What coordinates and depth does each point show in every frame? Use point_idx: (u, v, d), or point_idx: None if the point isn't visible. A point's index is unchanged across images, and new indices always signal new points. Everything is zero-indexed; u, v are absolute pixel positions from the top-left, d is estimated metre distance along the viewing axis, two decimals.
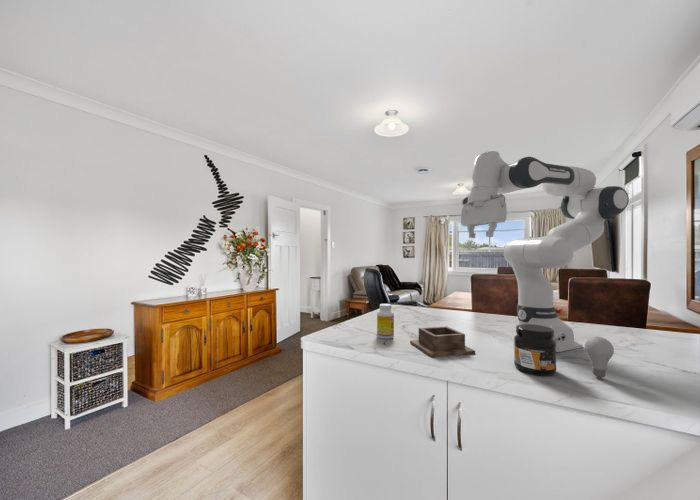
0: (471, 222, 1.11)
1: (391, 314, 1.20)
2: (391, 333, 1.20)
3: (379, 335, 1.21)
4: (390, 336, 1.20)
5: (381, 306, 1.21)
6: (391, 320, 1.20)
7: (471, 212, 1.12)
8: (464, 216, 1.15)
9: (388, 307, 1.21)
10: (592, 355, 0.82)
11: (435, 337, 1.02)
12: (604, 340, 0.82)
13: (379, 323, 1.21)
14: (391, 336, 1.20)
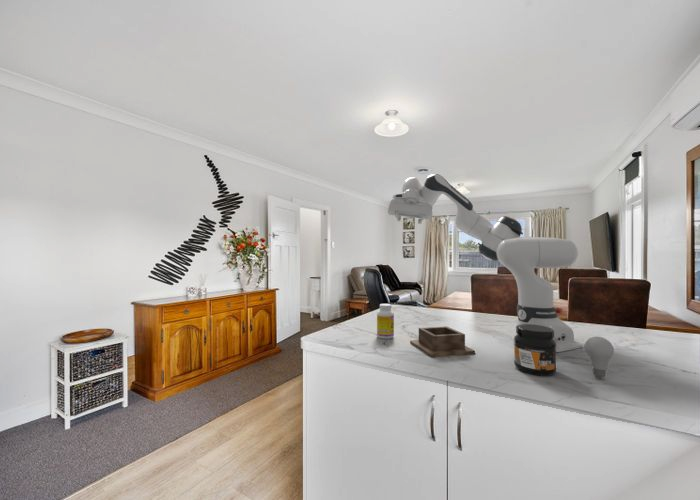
0: (403, 209, 1.42)
1: (391, 314, 1.20)
2: (391, 333, 1.20)
3: (379, 335, 1.21)
4: (390, 336, 1.20)
5: (381, 306, 1.21)
6: (391, 320, 1.20)
7: (401, 204, 1.45)
8: (393, 204, 1.45)
9: (388, 307, 1.21)
10: (592, 355, 0.82)
11: (435, 337, 1.02)
12: (604, 340, 0.82)
13: (379, 323, 1.21)
14: (391, 336, 1.20)
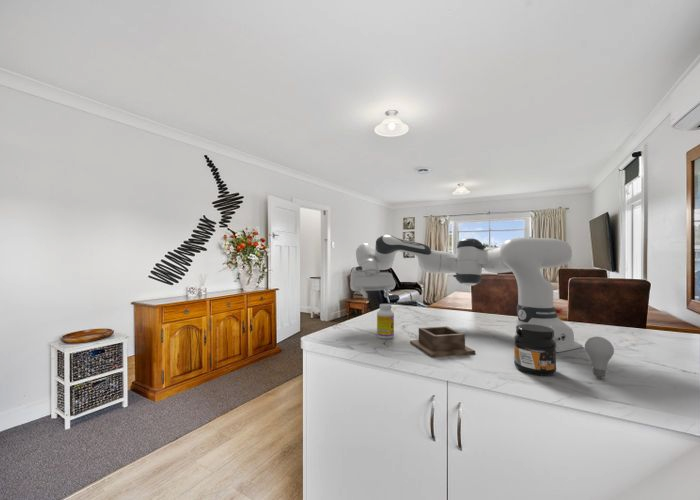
0: (367, 284, 1.34)
1: (391, 314, 1.20)
2: (391, 333, 1.20)
3: (379, 335, 1.21)
4: (390, 336, 1.20)
5: (381, 306, 1.21)
6: (391, 320, 1.20)
7: (363, 278, 1.37)
8: (356, 280, 1.35)
9: (388, 307, 1.21)
10: (592, 355, 0.82)
11: (435, 337, 1.02)
12: (604, 340, 0.82)
13: (379, 323, 1.21)
14: (391, 336, 1.20)
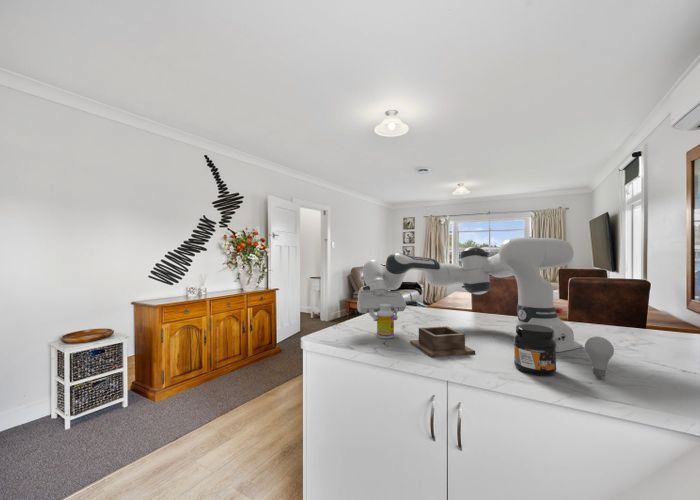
0: (376, 306, 1.24)
1: (391, 314, 1.20)
2: (391, 333, 1.20)
3: (379, 335, 1.21)
4: (390, 336, 1.20)
5: (381, 306, 1.21)
6: (391, 320, 1.20)
7: (371, 299, 1.26)
8: (364, 301, 1.25)
9: (388, 307, 1.21)
10: (592, 355, 0.82)
11: (435, 337, 1.02)
12: (604, 340, 0.82)
13: (379, 323, 1.21)
14: (391, 336, 1.20)
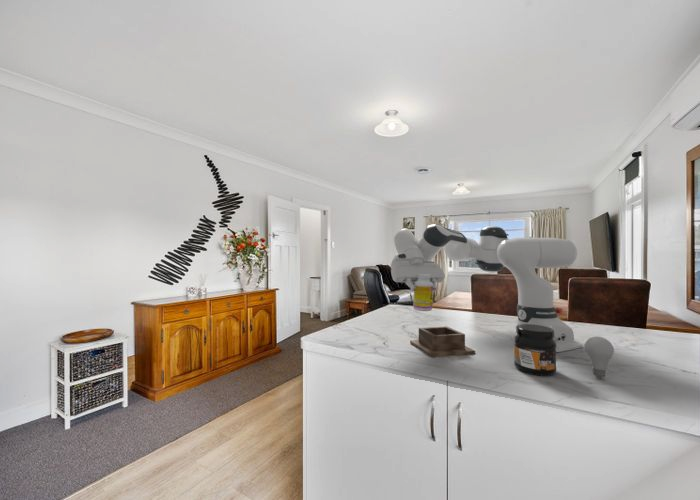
0: (413, 275, 1.13)
1: (431, 284, 1.10)
2: (430, 305, 1.09)
3: (417, 307, 1.10)
4: (429, 308, 1.09)
5: (420, 275, 1.10)
6: (431, 291, 1.09)
7: (408, 267, 1.15)
8: (400, 269, 1.13)
9: (428, 277, 1.10)
10: (592, 355, 0.82)
11: (435, 337, 1.02)
12: (604, 340, 0.82)
13: (417, 294, 1.10)
14: (430, 308, 1.09)
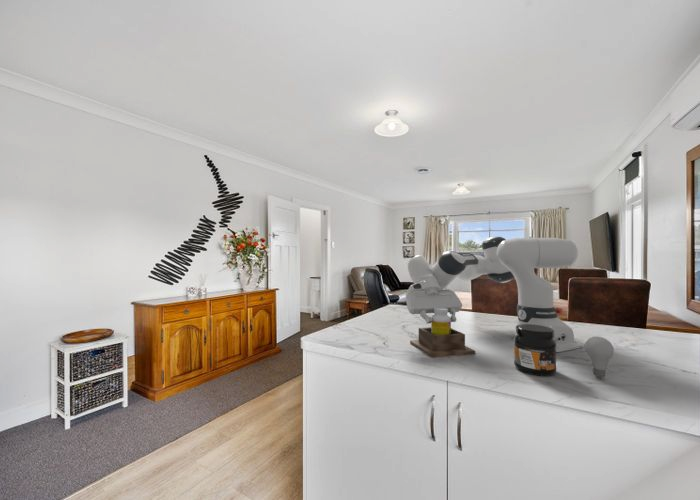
0: (429, 306, 1.10)
1: (449, 319, 1.06)
2: None
3: None
4: None
5: (437, 310, 1.07)
6: (449, 326, 1.06)
7: (423, 298, 1.12)
8: (415, 300, 1.11)
9: (445, 311, 1.07)
10: (592, 355, 0.82)
11: (435, 337, 1.02)
12: (604, 340, 0.82)
13: (435, 330, 1.07)
14: None
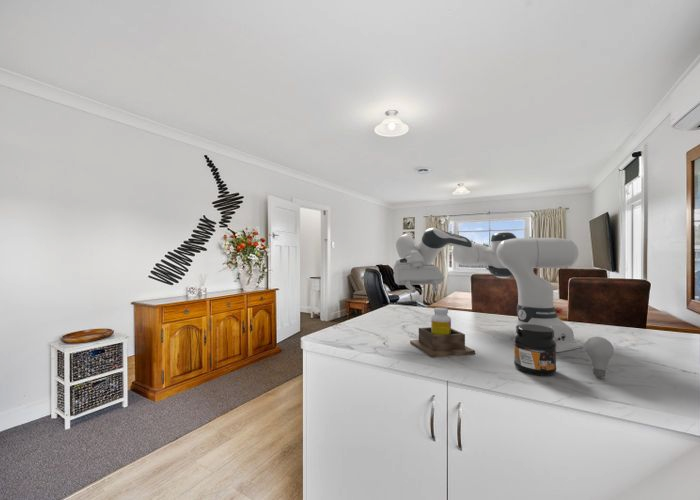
0: (414, 278, 1.22)
1: (449, 319, 1.06)
2: None
3: None
4: None
5: (437, 310, 1.07)
6: (449, 326, 1.06)
7: (409, 271, 1.24)
8: (401, 273, 1.22)
9: (445, 311, 1.07)
10: (592, 355, 0.82)
11: (435, 337, 1.02)
12: (604, 340, 0.82)
13: (435, 330, 1.07)
14: None
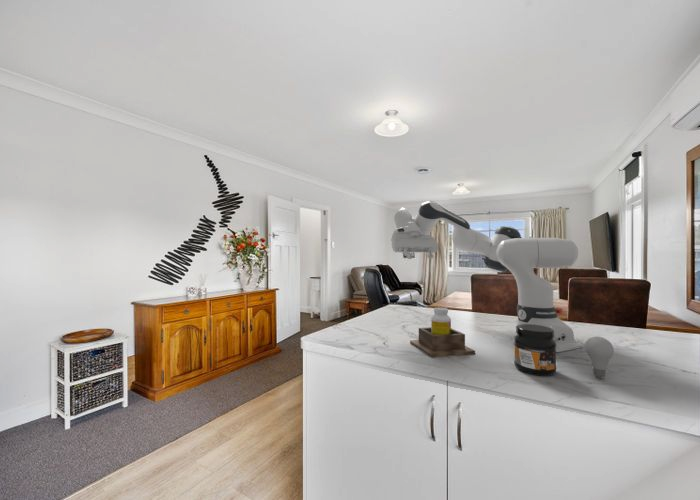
0: (411, 245, 1.30)
1: (449, 319, 1.06)
2: None
3: None
4: None
5: (437, 310, 1.07)
6: (449, 326, 1.06)
7: (406, 239, 1.32)
8: (399, 241, 1.31)
9: (445, 311, 1.07)
10: (592, 355, 0.82)
11: (435, 337, 1.02)
12: (604, 340, 0.82)
13: (435, 330, 1.07)
14: None
